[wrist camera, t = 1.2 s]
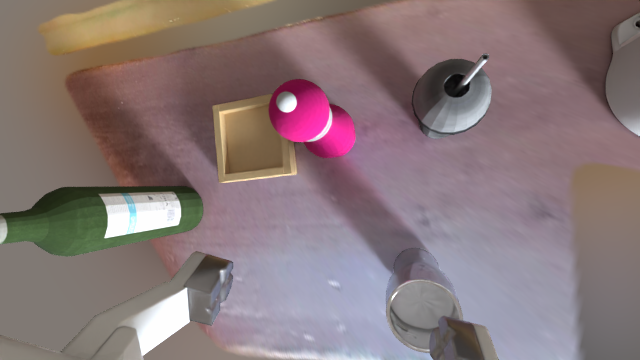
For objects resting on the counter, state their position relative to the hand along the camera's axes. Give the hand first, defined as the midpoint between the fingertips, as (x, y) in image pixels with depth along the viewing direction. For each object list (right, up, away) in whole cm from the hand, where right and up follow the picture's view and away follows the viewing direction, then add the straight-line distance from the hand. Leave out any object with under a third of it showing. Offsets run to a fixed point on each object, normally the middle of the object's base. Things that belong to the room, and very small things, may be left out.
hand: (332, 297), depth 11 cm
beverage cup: (+16, +12, +29) cm, 35 cm away
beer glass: (+13, -8, +30) cm, 33 cm away
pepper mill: (+2, +11, +33) cm, 35 cm away
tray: (-11, +11, +36) cm, 39 cm away
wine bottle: (-24, -1, +40) cm, 47 cm away
